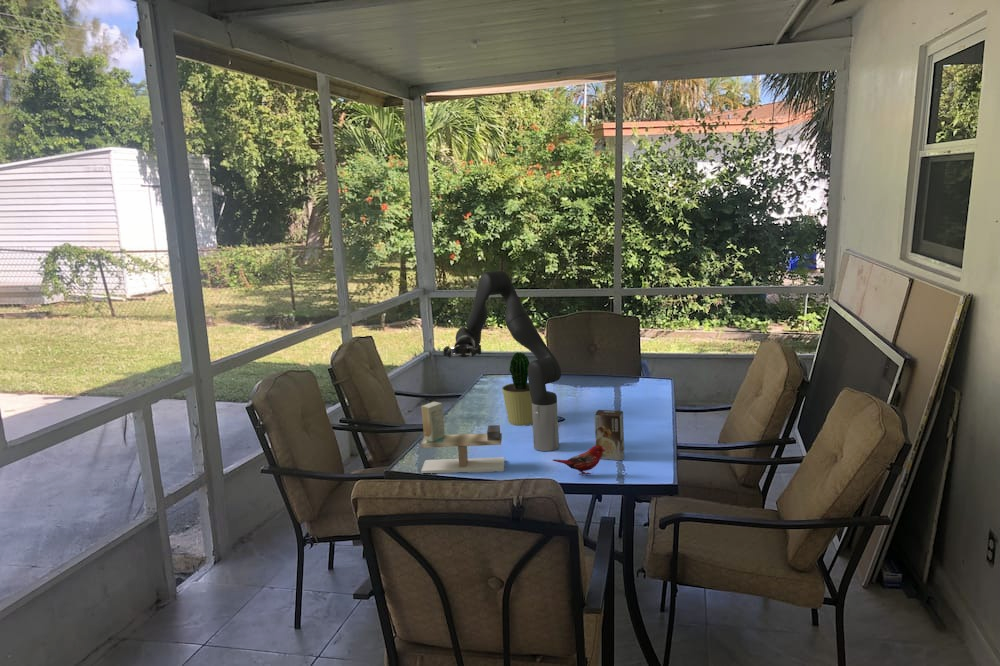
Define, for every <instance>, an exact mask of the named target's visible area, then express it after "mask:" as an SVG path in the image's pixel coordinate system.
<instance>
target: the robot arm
mask: <svg viewBox="0 0 1000 666" xmlns="http://www.w3.org/2000/svg"><path fill="white" fill-rule="evenodd" d="M476 288H477V289H476V293H475V296H474V300H473V301H474V302H473V305H472V309H471V311H470V313H469V316H468V318H467V319H466V322H465V327H461V328H459V329H458V330H457V332H456V334H455V343H454V346H452V347H451V348H450V347H449V346H448V345H447V346H445V347H444V348H443V356H444V357H448V358H451V357H456V356H458V357H460V358H468V357H470V356H471V357H472V358H473V357H474V356H476V355H482V345H481V341H482V331H483V328H484V325H485V323H486V321H487V319H488V314H489V313H488V308H487V300H488V298H490V296H497V295H500V296H501V297H502V298H503V300H504V302H505V305H506V309H505V316H504V319H505V320H504V321H505V326H506V327H507V329H508V331H509V332H510V335H511V337H512V338H513V339H514V340H515V341H516V342H517V343H518V344H520V345H521V346H522V347H524V348H525V349H527V350H528V351H530V352H531V353H532V355H534V356H535V358H536V359H535V360H532V361H530V362H529V363H530V364H529V366H528V378H527V379H528V380H527V382H528V383H529V391H530V396H531V399H532V418H533V424H532V438H533V441H532V442H533V448H534V450H536V451H540V452H541V451H542V452H549V451H550V452H551V451H555V450H560V438H559V435H560V434H559V422H558V420H559V419H558V417H559V416H558V415H559V414H558V396H557V394H556V393H555V392H552V391H548V390H547V386H546V385H547V384H552V383H555V382H557V381H560V379H561V377H562V369H561V366H560V363H559V361H558V359H557V358H556V357H555V356H554V354H553V353H552V351H551V350H550V348H549V347H548V346H547V344H546V343H545V341H544V339H543V338H542V336H541V335H540V333H539V331H538V330H537V329H536V327H535V324H534V323H533V320H532V319H531V317H530V315H529V314H528V312H527V310H526V309H525V307H524V305H523V303H522V302H521V301H522V300H520V298H519V296H518V294H517V291H516V289H515V287H514V284H513V282H512V280H511V278H510V276H509V274H508V273H507V272H506V271H504V270H492V271H491V270H489V271H485V272H483V273H482V274H481V275H480V278H479V280H478V284H477V287H476Z"/></svg>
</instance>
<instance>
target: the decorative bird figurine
mask: <svg viewBox="0 0 1000 666" xmlns="http://www.w3.org/2000/svg"><path fill="white" fill-rule="evenodd" d="M604 451H605V450H604V449H603V448H602V447H601V446H600V445H596V444H595V445H594V446H592V447H591V448H589V450H587V451H585V452H582V453H580V454H576V455H574V456H572V457H570V458H568V459H555V458H554V459H552V461H553V462H557V463H561V464H565V465H566V466H567V467H569V468H570V469H573V470H577V471H578V472H579V474H578V475H581V474H589V475H592V474H591V473H592V472H591V473H590V472H586V471H590V470H592V469H594V468H595V467H596V466H597V465H598V464H599V463H600V460H601V459H600V458H601V456H602V453H603V452H604Z"/></svg>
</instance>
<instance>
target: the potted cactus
mask: <svg viewBox="0 0 1000 666" xmlns="http://www.w3.org/2000/svg"><path fill="white" fill-rule="evenodd" d="M511 358H512V359H510V362H509V363H507V364H509V370H508V371H509V372H508V373H510V374H511V375H510V376H511V380H510V381H511V382H512V383H511V382H510V383H509V384H505V385H503V386H502V387H501V390H502V395H503V398H504V399H503V401H504V405H505V410H506V414H507V420H508V423H509V424H510V425H512V424H513V426H516V425H517V427H518V426H519V427H521V426H522V427H523V425H525V426H529V425H530V424H531V425H533V418H532V399H531V396H530V391H529V382H528V366H529V364H530V362H531V360H530V359H529V355H528V356H527V355H526V352H525V351H523V352H519V351H517V352H515V353H513V355H512V356H511Z"/></svg>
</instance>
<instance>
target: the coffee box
mask: <svg viewBox="0 0 1000 666" xmlns="http://www.w3.org/2000/svg"><path fill="white" fill-rule="evenodd" d="M594 431H595V432H594V433H595V446H596V445H600V446H601V447H602V448H603V449H604V450H605V451H604V452H603V453H602V456H601V458H600V460H607V459H610V460H609V461H620V460H622V461H623V459H624V457H625V438H624V437H625V436H624V435H625V434H624V411H623V410H609V409H607V410H606V409H597V411H596V412H595V414H594Z"/></svg>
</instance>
